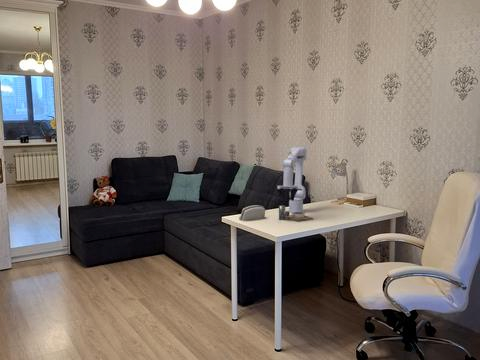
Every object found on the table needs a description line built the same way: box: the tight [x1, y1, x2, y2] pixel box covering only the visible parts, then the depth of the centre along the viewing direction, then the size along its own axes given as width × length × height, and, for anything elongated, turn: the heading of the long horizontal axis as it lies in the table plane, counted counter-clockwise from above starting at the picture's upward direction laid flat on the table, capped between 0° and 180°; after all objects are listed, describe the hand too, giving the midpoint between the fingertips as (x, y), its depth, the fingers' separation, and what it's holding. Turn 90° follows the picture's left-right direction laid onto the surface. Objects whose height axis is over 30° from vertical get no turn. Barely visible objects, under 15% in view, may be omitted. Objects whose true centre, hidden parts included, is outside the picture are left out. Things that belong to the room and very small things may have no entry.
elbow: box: [278, 205, 291, 221], centre depth 267 cm, size 8×4×8 cm, turn 31°
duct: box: [285, 212, 314, 223], centre depth 270 cm, size 14×12×4 cm
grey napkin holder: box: [238, 204, 266, 222], centre depth 270 cm, size 17×5×10 cm, turn 118°
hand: (287, 200), depth 264 cm, fingers open, 7 cm apart
